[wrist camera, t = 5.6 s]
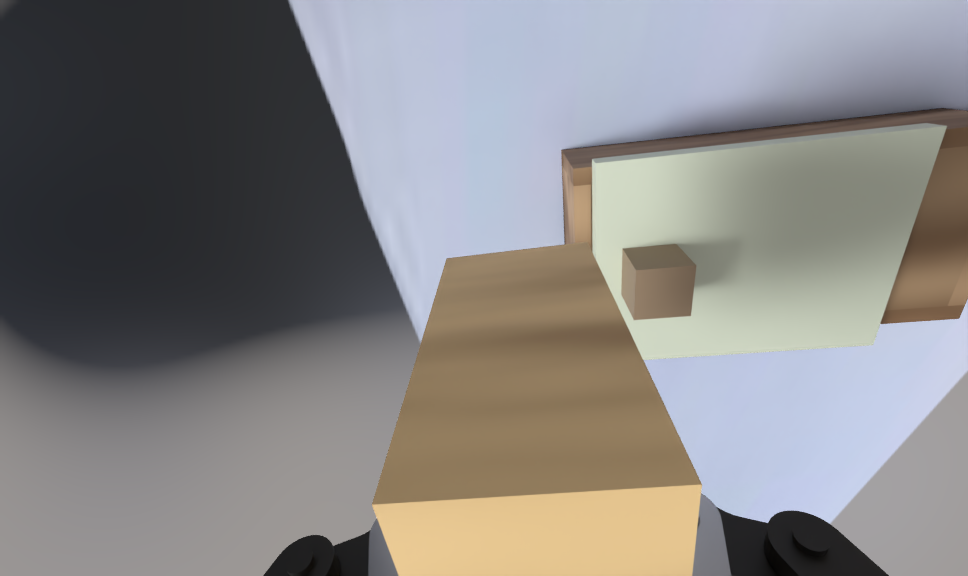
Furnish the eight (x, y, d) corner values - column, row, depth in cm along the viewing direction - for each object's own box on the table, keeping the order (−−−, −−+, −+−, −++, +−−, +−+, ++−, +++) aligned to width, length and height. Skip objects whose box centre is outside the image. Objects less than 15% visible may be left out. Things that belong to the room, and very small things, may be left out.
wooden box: (561, 150, 30) (573, 168, 25) (942, 108, 28) (1045, 118, 23) (566, 302, 36) (577, 344, 30) (886, 277, 33) (959, 318, 28)
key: (446, 258, 13) (372, 504, 6) (587, 242, 12) (701, 484, 5) (489, 476, 17) (478, 785, 10) (597, 469, 16) (669, 786, 9)
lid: (592, 158, 24) (607, 176, 21) (926, 123, 23) (1008, 134, 19) (592, 352, 30) (605, 393, 26) (859, 334, 29) (912, 375, 25)
